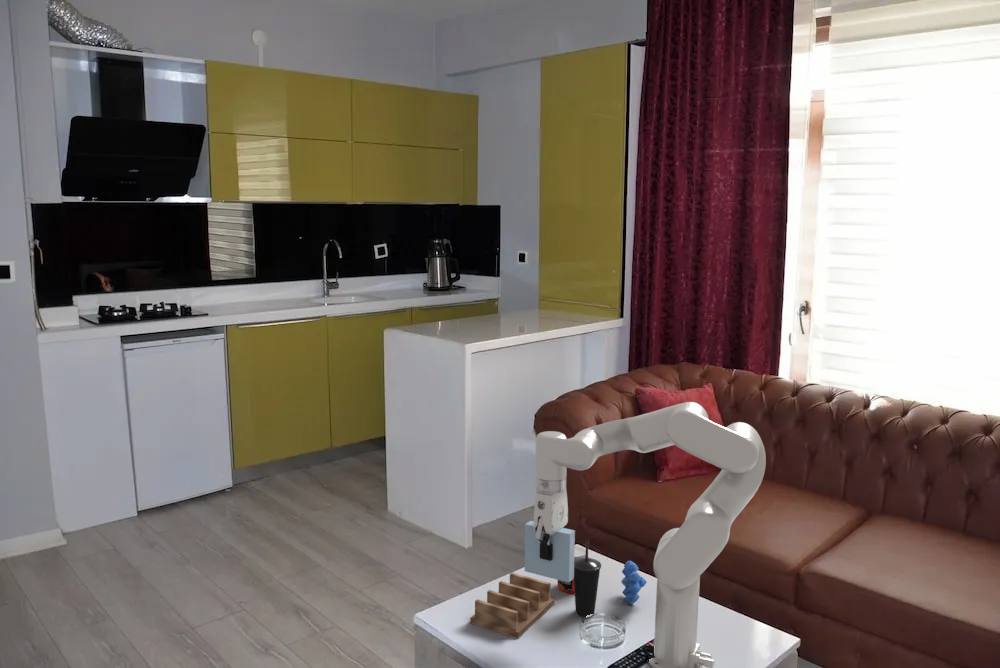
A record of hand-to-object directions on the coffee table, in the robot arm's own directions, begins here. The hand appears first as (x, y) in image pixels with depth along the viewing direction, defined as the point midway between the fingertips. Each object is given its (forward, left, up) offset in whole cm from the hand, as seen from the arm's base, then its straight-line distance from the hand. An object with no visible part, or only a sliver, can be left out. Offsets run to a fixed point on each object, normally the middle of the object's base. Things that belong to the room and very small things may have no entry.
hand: (549, 556), depth 180 cm
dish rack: (+13, -6, -21) cm, 25 cm away
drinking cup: (-3, -16, -21) cm, 27 cm away
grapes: (-12, -28, -21) cm, 37 cm away
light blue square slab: (0, 0, -5) cm, 5 cm away
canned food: (+6, -27, -21) cm, 35 cm away
